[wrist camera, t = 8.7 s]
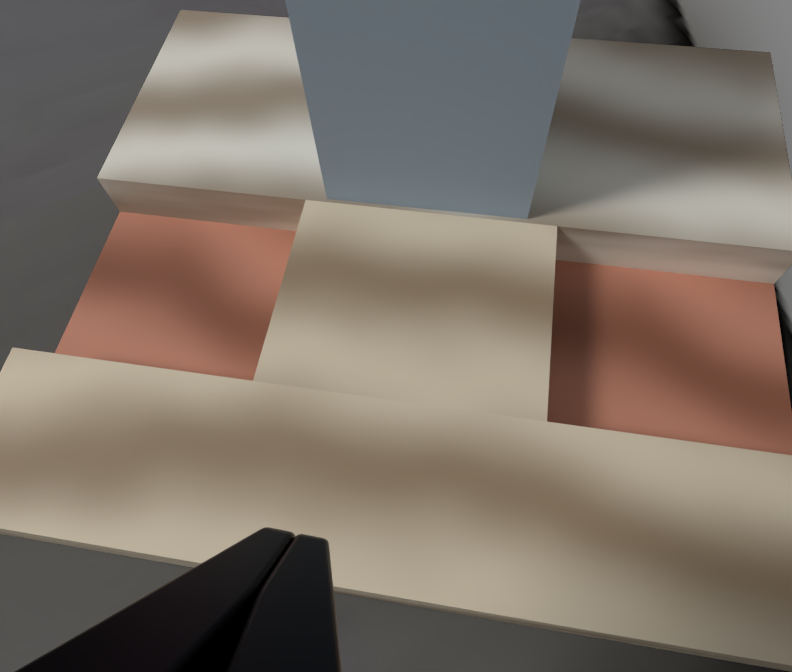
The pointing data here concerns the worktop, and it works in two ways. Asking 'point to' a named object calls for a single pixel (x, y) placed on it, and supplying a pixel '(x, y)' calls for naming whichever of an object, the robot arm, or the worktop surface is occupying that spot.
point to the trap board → (439, 355)
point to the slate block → (432, 98)
